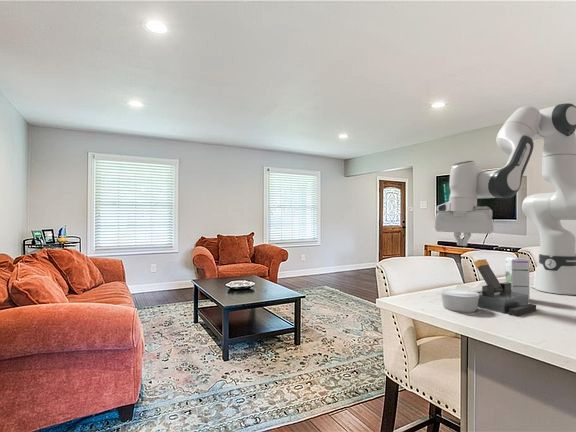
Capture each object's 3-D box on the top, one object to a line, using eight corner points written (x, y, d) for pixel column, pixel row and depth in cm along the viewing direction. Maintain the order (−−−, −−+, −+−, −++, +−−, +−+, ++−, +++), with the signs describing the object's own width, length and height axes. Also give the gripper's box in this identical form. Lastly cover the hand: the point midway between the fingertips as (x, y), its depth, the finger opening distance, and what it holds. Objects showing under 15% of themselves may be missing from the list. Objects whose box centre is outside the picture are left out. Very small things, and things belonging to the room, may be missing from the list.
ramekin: (462, 315, 103) (462, 297, 103) (432, 306, 113) (432, 290, 113) (487, 311, 108) (487, 294, 108) (456, 303, 118) (456, 287, 118)
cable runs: (469, 296, 128) (469, 291, 128) (537, 310, 109) (537, 304, 109) (446, 300, 121) (446, 295, 121) (515, 316, 102) (515, 310, 102)
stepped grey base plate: (490, 299, 123) (490, 279, 123) (528, 307, 113) (528, 285, 113) (466, 304, 116) (466, 283, 116) (504, 313, 105) (504, 290, 105)
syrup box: (530, 301, 121) (530, 259, 121) (511, 300, 122) (511, 258, 122) (522, 297, 127) (522, 257, 127) (504, 296, 128) (504, 256, 128)
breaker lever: (499, 292, 116) (481, 261, 121) (504, 290, 114) (485, 259, 120) (492, 294, 113) (473, 262, 119) (496, 291, 112) (477, 260, 117)
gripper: (497, 206, 117) (497, 247, 117) (443, 207, 135) (442, 243, 135) (486, 205, 114) (486, 248, 114) (432, 206, 132) (431, 243, 132)
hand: (462, 245), depth 124 cm, fingers closed
